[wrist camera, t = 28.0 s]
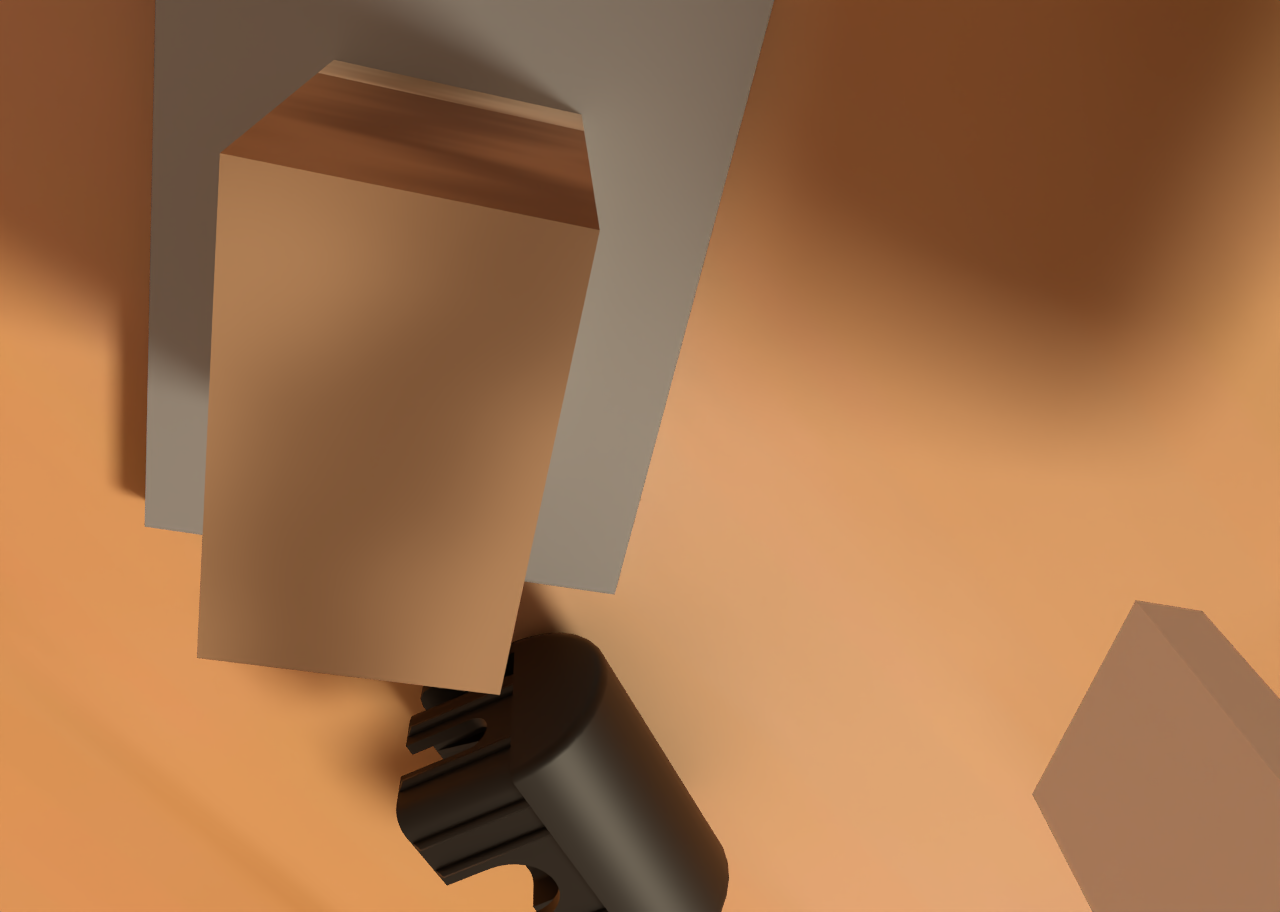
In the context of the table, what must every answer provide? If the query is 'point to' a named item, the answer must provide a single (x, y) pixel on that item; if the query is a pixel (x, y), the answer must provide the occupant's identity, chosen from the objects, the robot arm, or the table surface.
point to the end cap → (558, 789)
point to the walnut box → (387, 374)
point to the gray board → (502, 66)
